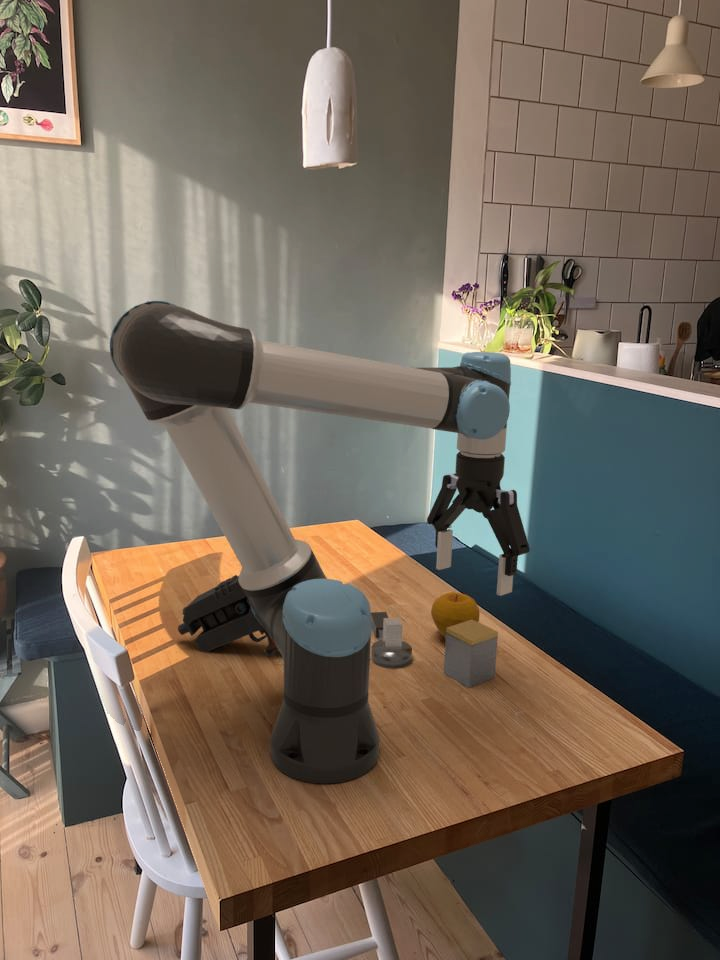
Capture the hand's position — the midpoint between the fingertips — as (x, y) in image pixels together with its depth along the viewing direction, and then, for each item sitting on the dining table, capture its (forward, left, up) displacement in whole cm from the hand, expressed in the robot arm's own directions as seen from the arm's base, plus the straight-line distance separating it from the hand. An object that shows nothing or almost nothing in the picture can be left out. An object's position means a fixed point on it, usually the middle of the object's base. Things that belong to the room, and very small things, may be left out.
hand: (472, 580), depth 131 cm
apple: (+13, -1, -17) cm, 22 cm away
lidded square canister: (0, 0, -17) cm, 17 cm away
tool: (+13, +39, -17) cm, 44 cm away
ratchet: (+12, +12, -17) cm, 24 cm away
